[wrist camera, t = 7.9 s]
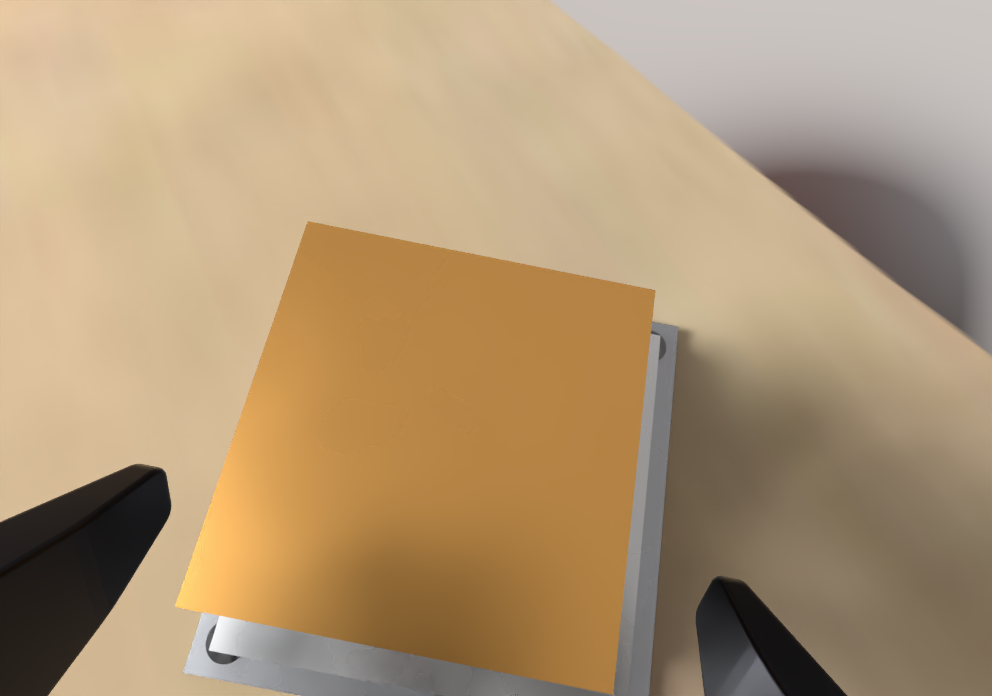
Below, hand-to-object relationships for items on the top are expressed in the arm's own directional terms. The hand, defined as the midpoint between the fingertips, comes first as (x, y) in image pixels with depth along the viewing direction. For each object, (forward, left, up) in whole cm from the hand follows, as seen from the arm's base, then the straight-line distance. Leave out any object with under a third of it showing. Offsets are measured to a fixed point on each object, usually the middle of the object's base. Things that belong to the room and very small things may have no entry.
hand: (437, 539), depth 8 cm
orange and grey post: (+1, +1, -9) cm, 9 cm away
